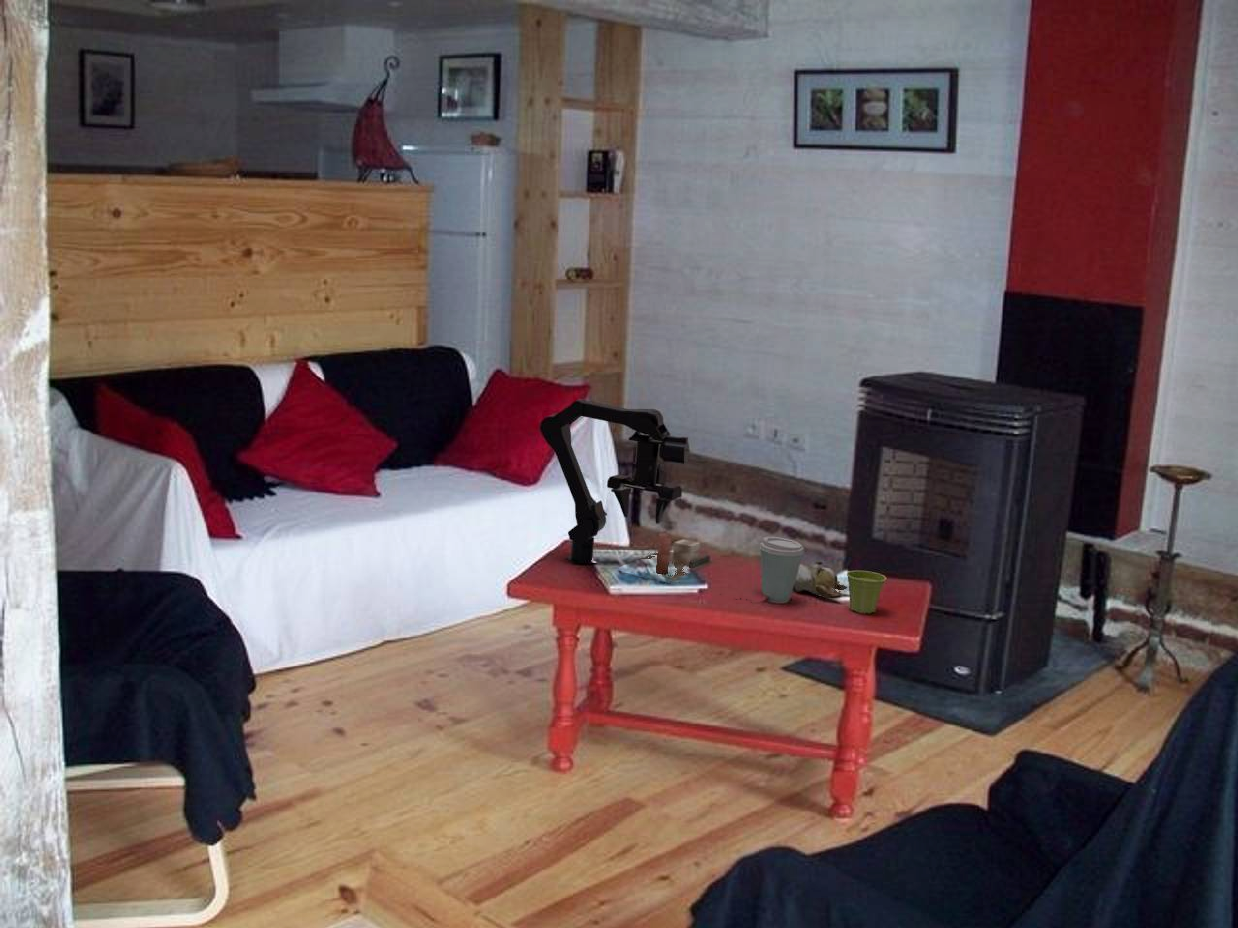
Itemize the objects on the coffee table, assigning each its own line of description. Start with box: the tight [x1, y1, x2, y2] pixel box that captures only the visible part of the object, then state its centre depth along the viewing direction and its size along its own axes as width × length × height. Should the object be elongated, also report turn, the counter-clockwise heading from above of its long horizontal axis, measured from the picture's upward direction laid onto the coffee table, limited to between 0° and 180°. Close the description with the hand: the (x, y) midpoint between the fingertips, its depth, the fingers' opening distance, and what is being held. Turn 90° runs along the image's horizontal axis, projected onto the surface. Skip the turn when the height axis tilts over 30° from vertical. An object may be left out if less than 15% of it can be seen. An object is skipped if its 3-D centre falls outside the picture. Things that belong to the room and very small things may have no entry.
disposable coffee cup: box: [759, 536, 805, 605], centre depth 345 cm, size 11×11×15 cm
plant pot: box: [846, 570, 887, 614], centre depth 343 cm, size 9×9×9 cm
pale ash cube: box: [673, 538, 701, 565], centre depth 370 cm, size 5×5×5 cm
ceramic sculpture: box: [793, 561, 848, 600], centre depth 354 cm, size 11×9×15 cm
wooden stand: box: [637, 532, 716, 581], centre depth 365 cm, size 16×24×11 cm, turn 151°
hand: (641, 520), depth 362 cm, fingers open, 9 cm apart
